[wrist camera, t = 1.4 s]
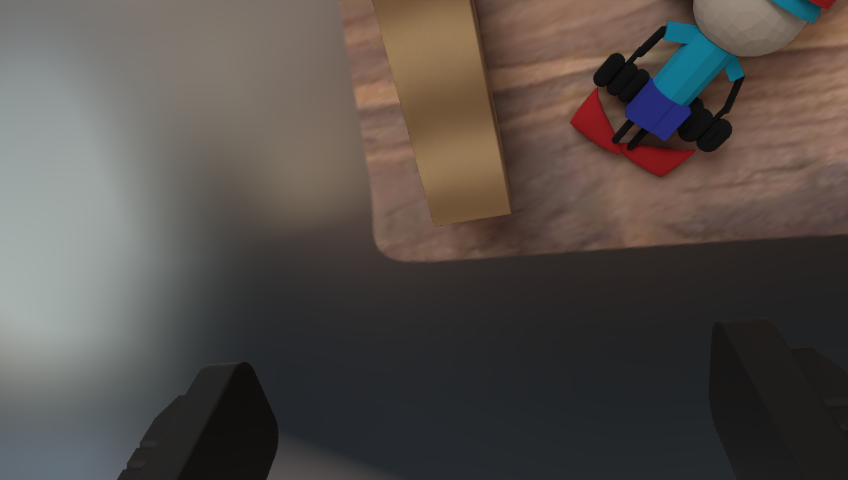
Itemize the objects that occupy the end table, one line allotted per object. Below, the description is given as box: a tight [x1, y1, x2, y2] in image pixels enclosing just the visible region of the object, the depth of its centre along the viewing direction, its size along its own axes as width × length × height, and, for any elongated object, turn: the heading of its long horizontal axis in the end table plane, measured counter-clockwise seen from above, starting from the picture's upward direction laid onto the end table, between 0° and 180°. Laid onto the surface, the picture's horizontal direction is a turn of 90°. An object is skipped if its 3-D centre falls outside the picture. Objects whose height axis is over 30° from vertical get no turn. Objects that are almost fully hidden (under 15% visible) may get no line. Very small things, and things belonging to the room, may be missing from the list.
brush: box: [372, 0, 512, 227], centre depth 29 cm, size 12×4×4 cm, turn 14°
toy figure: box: [570, 0, 836, 177], centre depth 27 cm, size 8×5×15 cm
